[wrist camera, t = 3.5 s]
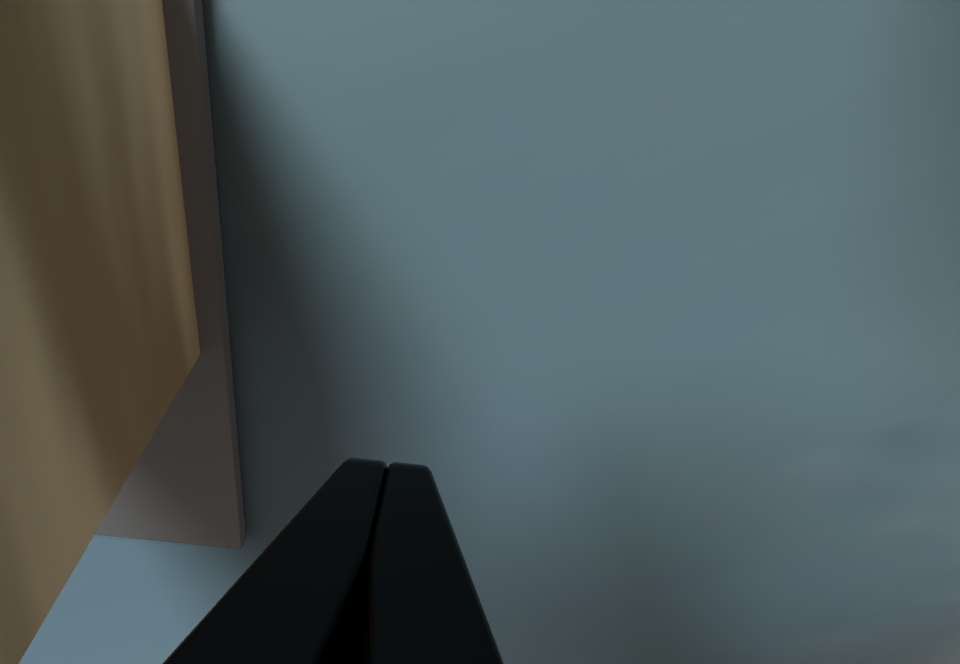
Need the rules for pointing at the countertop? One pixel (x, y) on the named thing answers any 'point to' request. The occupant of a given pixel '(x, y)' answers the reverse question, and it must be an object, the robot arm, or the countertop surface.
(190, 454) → the mat
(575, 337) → the countertop surface
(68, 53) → the maple block
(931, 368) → the countertop surface
